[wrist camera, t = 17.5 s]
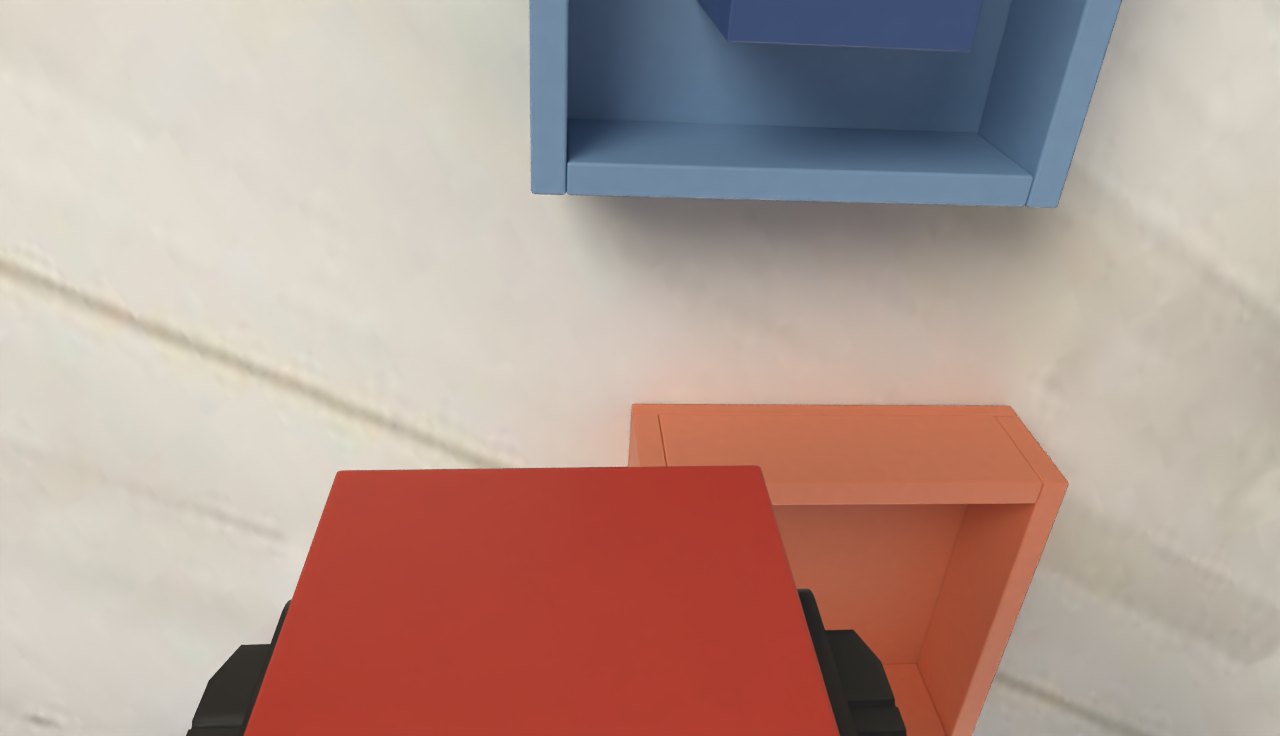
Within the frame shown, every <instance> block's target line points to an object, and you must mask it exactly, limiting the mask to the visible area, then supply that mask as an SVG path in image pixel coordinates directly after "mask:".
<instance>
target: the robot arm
mask: <svg viewBox="0 0 1280 736" xmlns="http://www.w3.org/2000/svg"><path fill="white" fill-rule="evenodd" d="M797 591H798V595H799V598H800V601H801V605H802V608H803V612H804V615H805V618H806V622H807V625H808V629H809V632H810V635H811V639H812V642H813V646H814V649H815V652H816V656H817V659H818V663H819V666H820V669H821V673H822V676H823V680H824V683H825V686H826V690H827V693H828V696H829V700H830V703H831V707H832V710H833V713H834V717H835V720H836V724H837V727H838V730H839V734H840V736H907V734H906V731H907V730H906V727H905V725H904V722H903V719H902V717H901V714H900V711H899V708H898V707H896V705H895V698H894V695H893V692H892V689H891V687H890V684H889V681H888V679H887V676H886V673H885V670H884V668H883V665H882V662H881V661H880V660H879V658H878V657H877V656H876V655H875V654H874V653H873V652H872V650H871V649H870V648H869V647H868V646H867V645H866V644H865V642H864V641H863V640H862V639H861V638H860V637H859V635H858V634H857V633H856V632H855V631H854V630H853V629H852V630H825V628H824V625H823V622H822V619H821V616H820V612H819V609H818V606H817V603H816V600H815V597H814V595H813V593H812V591H811V590H810V589H797ZM291 601H292V600H289V601H288V602H287V603H286V605H285V607H284V609H283V611H282V614H281V616H280V619H279V622H278V625H277V627H276V630H275V633H274V636H273V639H272V641H271V644H259V645H241V646H240V647H239V648H238V649H237V650H236V651H235V652H234V654H233V655H232V656H231V657H230V658H229V659H228V660H227V661H226V662H225V663H224V665H223V666H222V667H221V668H220V669H219V670H218V671H217V672H216V673H215V675H214V676H213V677H212V678H211V679H210V680H209V682H208V684H207V687H206V689H205V691H204V694H203V696H202V699H201V701H200V703H199V706H198V708H197V711H196V713H195V715H194V718H193V720H192V728H191V729H189V730H188V732H187V735H186V736H244V733H245V731H246V728H247V725H248V722H249V719H250V716H251V714H252V711H253V708H254V705H255V702H256V699H257V697H258V694H259V691H260V688H261V685H262V683H263V680H264V677H265V674H266V671H267V668H268V666H269V663H270V660H271V657H272V654H273V651H274V649H275V646H276V643H277V640H278V637H279V635H280V632H281V629H282V626H283V623H284V620H285V618H286V615H287V612H288V609H289V606H290V604H291Z"/></svg>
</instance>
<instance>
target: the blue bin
mask: <svg viewBox="0 0 1280 736" xmlns="http://www.w3.org/2000/svg"><path fill="white" fill-rule="evenodd" d="M529 1H530V121H531V191H532V193H533V194H550V195H563V194H565V193H566V191H567V194H569V195H589V196H628V197H666V198H704V199H743V200H781V201H819V202H857V203H896V204H934V205H972V206H1011V207H1023V206H1027V207H1045V208H1055V207H1057V205H1058V203H1059V199H1060V196H1061V193H1062V190H1063V187H1064V183H1065V180H1066V177H1067V174H1068V171H1069V168H1070V164H1071V161H1072V158H1073V155H1074V152H1075V148H1076V145H1077V142H1078V139H1079V136H1080V133H1081V129H1082V126H1083V123H1084V120H1085V117H1086V113H1087V110H1088V107H1089V104H1090V101H1091V97H1092V94H1093V91H1094V88H1095V85H1096V82H1097V78H1098V75H1099V72H1100V69H1101V66H1102V62H1103V59H1104V56H1105V53H1106V50H1107V46H1108V43H1109V40H1110V37H1111V34H1112V31H1113V27H1114V24H1115V21H1116V18H1117V15H1118V11H1119V8H1120V5H1121V2H1122V0H984V1H983V5H982V9H981V13H980V18H979V22H978V26H977V30H976V34H975V39H974V43H973V47H972V50H971V51H970V52H950V51H926V50H903V49H879V48H856V47H832V46H809V45H785V44H762V43H738V42H728V41H727V40H726V39H725V38H724V36H723V35H722V34H721V32H720V31H719V30H718V28H717V27H716V26H715V24H714V23H713V22H712V20H711V19H710V17H709V16H708V15H707V13H706V12H705V11H704V9H703V8H702V7H701V5H700V4H699V3H698V1H697V0H529Z"/></svg>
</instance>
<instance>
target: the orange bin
mask: <svg viewBox="0 0 1280 736" xmlns="http://www.w3.org/2000/svg"><path fill="white" fill-rule="evenodd" d="M736 465H757V466H760V467H761V470H762V473H763V476H764V479H765V483H766V486H767V490H768V493H769V496H770V500H771V503H772V506H773V510H774V513H775V517H776V520H777V523H778V527H779V530H780V534H781V537H782V540H783V544H784V547H785V551H786V554H787V557H788V561H789V564H790V568H791V571H792V574H793V578H794V581H795V585H796V588H797V589H810V590H811V591H812V593H813V595H814V597H815V600H816V603H817V606H818V609H819V612H820V616H821V619H822V622H823V625H824V628H825V630H852V629H853V630H854V631H855V632H856V633H857V634H858V635H859V637H860V638H861V639H862V640H863V641H864V642H865V644H866V645H867V646H868V647H869V648H870V649H871V650H872V652H873V653H874V654H875V655H876V656H877V657H878V658H879V660H880V661H881V662H882V665H883V668H884V670H885V673H886V676H887V679H888V681H889V684H890V687H891V689H892V692H893V695H894V698H895V705H896V707H898V708H899V711H900V714H901V717H902V719H903V722H904V725H905V727H906V730H907V731H906V734H907V736H972V733H973V730H974V728H975V725H976V723H977V720H978V717H979V715H980V712H981V710H982V707H983V704H984V702H985V699H986V697H987V694H988V692H989V689H990V686H991V684H992V681H993V679H994V676H995V673H996V671H997V668H998V666H999V663H1000V660H1001V658H1002V655H1003V653H1004V650H1005V648H1006V645H1007V642H1008V640H1009V637H1010V635H1011V632H1012V629H1013V627H1014V624H1015V622H1016V619H1017V616H1018V614H1019V611H1020V609H1021V606H1022V604H1023V601H1024V598H1025V596H1026V593H1027V591H1028V588H1029V585H1030V583H1031V580H1032V578H1033V575H1034V572H1035V570H1036V567H1037V565H1038V562H1039V560H1040V557H1041V554H1042V552H1043V549H1044V547H1045V544H1046V541H1047V539H1048V536H1049V534H1050V531H1051V528H1052V526H1053V523H1054V521H1055V518H1056V516H1057V513H1058V510H1059V508H1060V505H1061V503H1062V500H1063V497H1064V495H1065V492H1066V490H1067V487H1068V481H1067V480H1066V479H1065V477H1064V476H1063V475H1062V473H1061V472H1060V471H1059V470H1058V468H1057V467H1056V466H1055V464H1054V463H1053V462H1052V460H1051V459H1050V458H1049V456H1048V455H1047V454H1046V452H1045V451H1044V450H1043V449H1042V447H1041V446H1040V445H1039V443H1038V442H1037V441H1036V439H1035V438H1034V437H1033V435H1032V434H1031V433H1030V432H1029V430H1028V429H1027V428H1026V426H1025V425H1024V424H1023V422H1022V421H1021V420H1020V418H1019V417H1017V414H1016V413H1015V412H1014V410H1013V409H1012V408H1011V407H1010V406H928V405H715V404H633V405H632V411H631V427H630V444H629V460H628V467H659V466H736Z"/></svg>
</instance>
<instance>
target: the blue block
mask: <svg viewBox="0 0 1280 736" xmlns="http://www.w3.org/2000/svg"><path fill="white" fill-rule="evenodd" d="M697 1H698V3H699V4H700V5H701V7H702V8H703V9H704V11H705V12H706V13H707V15H708V16H709V17H710V19H711V20H712V22H713V23H714V24H715V26H716V27H717V28H718V30H719V31H720V32H721V34H722V35H723V36H724V38H725V39H726V40H727V41H728V42H738V43H762V44H785V45H809V46H832V47H856V48H879V49H903V50H926V51H950V52H970V51H971V50H972V47H973V43H974V39H975V34H976V30H977V26H978V22H979V18H980V13H981V9H982V5H983V1H984V0H697Z"/></svg>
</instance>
